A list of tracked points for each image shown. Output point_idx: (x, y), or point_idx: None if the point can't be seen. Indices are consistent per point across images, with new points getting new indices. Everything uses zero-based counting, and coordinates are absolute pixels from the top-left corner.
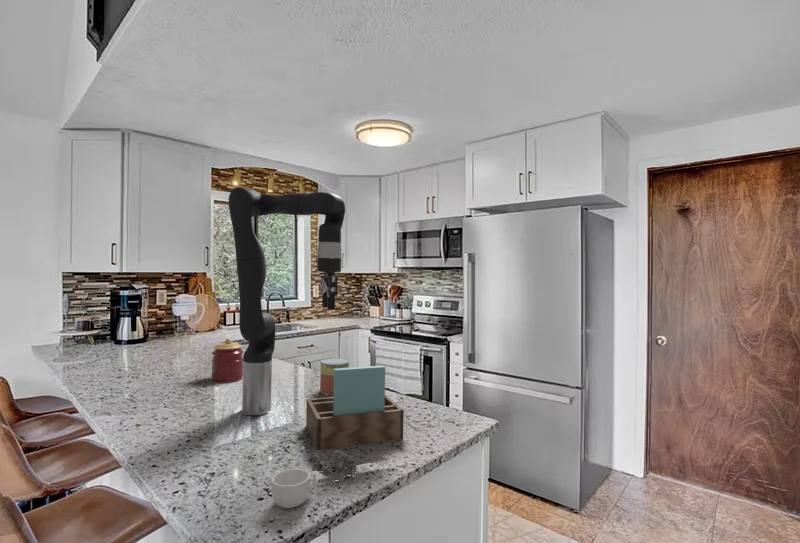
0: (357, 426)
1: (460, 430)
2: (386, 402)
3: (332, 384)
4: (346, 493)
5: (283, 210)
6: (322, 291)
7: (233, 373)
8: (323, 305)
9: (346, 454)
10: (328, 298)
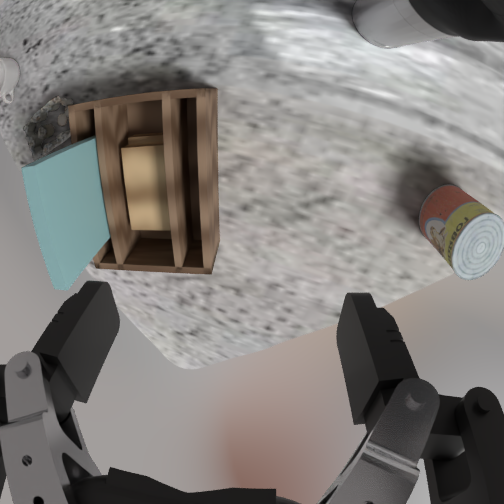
0: None
1: (157, 326)
2: (167, 261)
3: (435, 211)
4: (15, 135)
5: None
6: (397, 430)
7: None
8: (350, 306)
9: (58, 145)
10: (45, 350)
